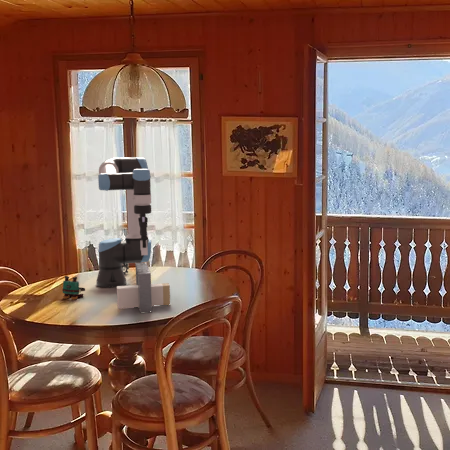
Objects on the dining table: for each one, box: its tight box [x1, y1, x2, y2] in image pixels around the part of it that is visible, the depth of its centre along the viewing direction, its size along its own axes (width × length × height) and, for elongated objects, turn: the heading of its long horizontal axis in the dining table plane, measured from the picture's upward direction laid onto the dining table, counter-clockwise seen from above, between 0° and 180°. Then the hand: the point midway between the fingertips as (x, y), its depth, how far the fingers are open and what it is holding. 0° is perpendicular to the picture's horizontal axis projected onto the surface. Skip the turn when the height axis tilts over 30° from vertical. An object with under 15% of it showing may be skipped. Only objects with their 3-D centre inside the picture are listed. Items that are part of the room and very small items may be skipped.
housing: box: [135, 262, 153, 314], centre depth 277 cm, size 5×24×17 cm, turn 11°
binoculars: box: [62, 275, 86, 301], centre depth 295 cm, size 9×11×10 cm
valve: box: [122, 263, 130, 275], centre depth 347 cm, size 7×7×12 cm
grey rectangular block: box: [116, 282, 171, 310], centre depth 278 cm, size 23×5×9 cm, turn 102°
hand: (144, 252), depth 275 cm, fingers open, 13 cm apart
